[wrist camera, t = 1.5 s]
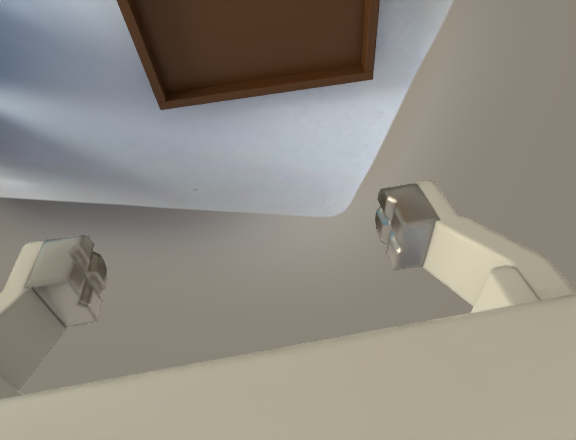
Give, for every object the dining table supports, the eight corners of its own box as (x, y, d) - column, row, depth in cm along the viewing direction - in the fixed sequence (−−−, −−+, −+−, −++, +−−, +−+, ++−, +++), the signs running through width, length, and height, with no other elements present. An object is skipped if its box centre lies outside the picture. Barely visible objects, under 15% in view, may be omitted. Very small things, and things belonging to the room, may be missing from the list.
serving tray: (95, -77, 27) (89, -68, 25) (381, -118, 27) (389, -111, 25) (162, 97, 37) (160, 110, 36) (367, 67, 37) (373, 79, 36)
